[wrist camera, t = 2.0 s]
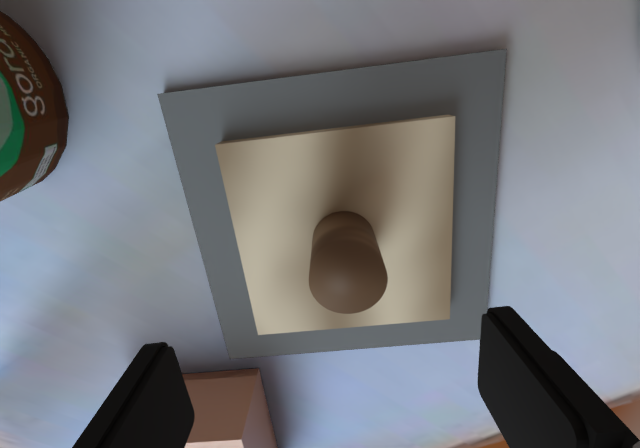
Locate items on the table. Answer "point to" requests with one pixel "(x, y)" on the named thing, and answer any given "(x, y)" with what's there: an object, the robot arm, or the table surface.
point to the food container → (28, 111)
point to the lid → (344, 223)
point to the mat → (334, 112)
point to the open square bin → (229, 410)
